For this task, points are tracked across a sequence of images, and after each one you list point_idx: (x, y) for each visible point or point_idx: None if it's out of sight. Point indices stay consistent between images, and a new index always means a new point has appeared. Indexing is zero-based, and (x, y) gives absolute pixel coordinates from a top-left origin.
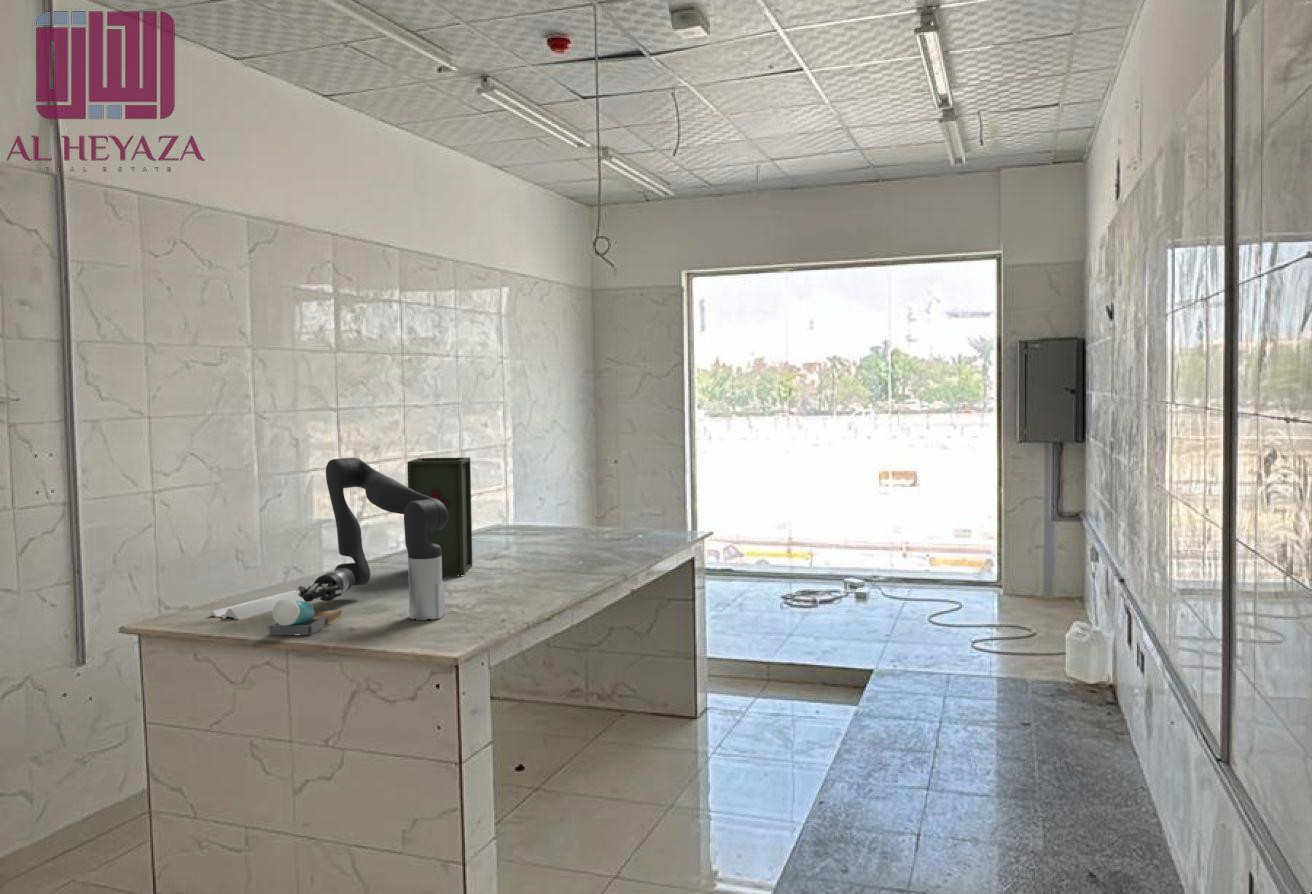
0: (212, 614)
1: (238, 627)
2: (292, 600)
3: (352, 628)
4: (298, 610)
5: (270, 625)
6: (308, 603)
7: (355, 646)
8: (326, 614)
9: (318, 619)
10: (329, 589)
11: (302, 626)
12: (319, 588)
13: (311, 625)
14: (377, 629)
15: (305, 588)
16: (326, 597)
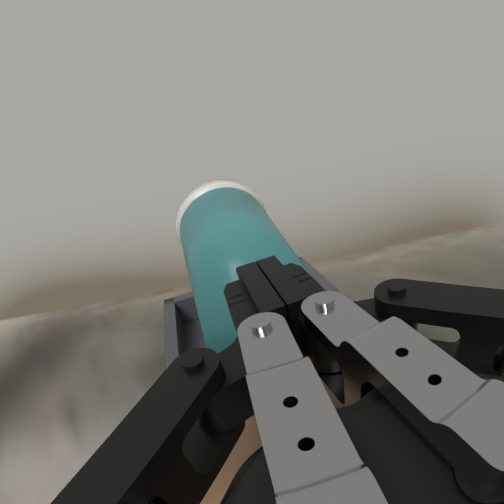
0: None
1: (487, 274)
2: (190, 193)
3: (69, 421)
4: (176, 230)
5: (300, 258)
6: (219, 288)
7: (51, 314)
8: (225, 475)
9: (177, 351)
10: (137, 403)
11: (192, 293)
12: (274, 368)
13: (164, 303)
14: (3, 420)
15: (460, 312)
16: (193, 427)
